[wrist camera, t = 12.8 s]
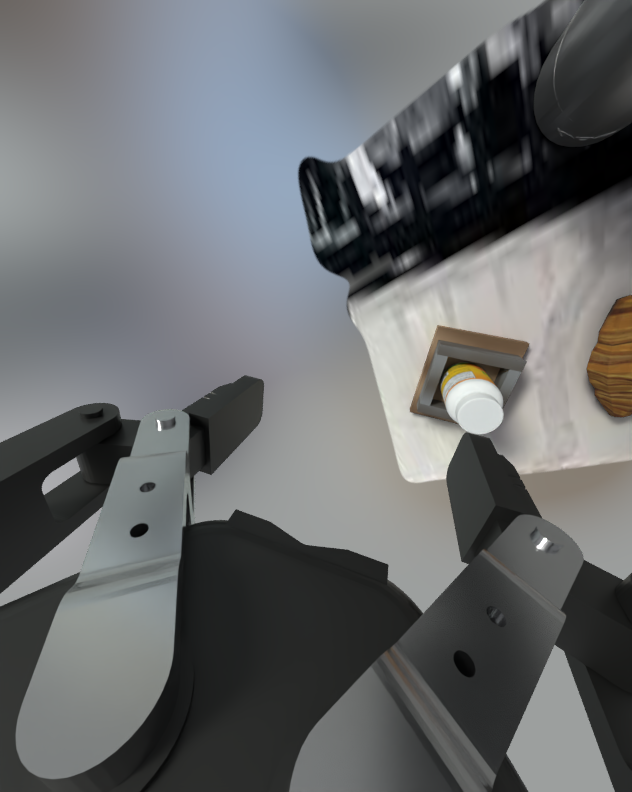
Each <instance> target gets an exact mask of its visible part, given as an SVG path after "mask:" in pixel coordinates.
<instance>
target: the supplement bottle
mask: <svg viewBox="0 0 632 792" xmlns="http://www.w3.org/2000/svg"><path fill="white" fill-rule="evenodd" d="M440 390H441V393H442V396H443V400H444V403H445V407H446V409H447V412H448V414H449V415H450V417H451V418H452V419H453V420H454V421H456V422H457V423H459V425H460V426H461V427H462V428H463V429H464V430H465V431H467V432H469V433H473V434H486V433H489V432H492V431H493V430H495V429H496V428H498V427H499V425H500V424H501V423H502V421H503V417H504V413H503V409H502V407H503V397H502V394H501V392H500V390H499V389H498V388H497V386H496V385H495V384H494V382H493V381H492V380H491V378H490V377H489V376H488V375H487V373H486V372H485V371H484V370H483V369H482V368H481V367H480V366H479V365H477V364H475V363H471V362H459V363H456V364H453V365H451V366H450V367H448V368H447V369H446V370H445V371H444V372H443V374H442V376H441V378H440Z"/></svg>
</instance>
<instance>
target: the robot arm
mask: <svg viewBox="0 0 632 792" xmlns="http://www.w3.org/2000/svg"><path fill="white" fill-rule="evenodd" d="M534 113H535V118H536V122H537V124H538V126H539V128H540V130H541V132H542V133H543V134H544V135H545V136H546V137H547V138H548V139H549V140H550V141H552V142H554V143H556V144H558V145H561V146H567V147H582V146H586V145H590V144H594V143H597V142H599V141H602V140H604V139H606V138H608V137H610V136H612V135H614V134H615V133H617V132H618V131H620V130H621V129H623V128H625V127H626V126H628V125H629V124H631V123H632V0H585V1H584V2H583V3H582V5H581V6H580V8H579V9H578V11H577V12H576V14H575V15H574V17H573V18H572V20H571V21H570V23H569V24H568V26H567V27H566V29H565V30H564V32H563V33H562V35H561V36H560V38H559V39H558V41H557V42H556V44H555V45H554V47H553V48H552V50H551V52H550V53H549V55H548V57H547V59H546V61H545V63H544V65H543V67H542V69H541V72H540V75H539V78H538V80H537V84H536V90H535V95H534ZM263 391H264V383H263V380H261V379H257V378H253V377H249V376H243V377H241V378H240V379H238V380H237V381H235V382H234V383H230V384H227V385H223V386H220V387H218V388H216V389H215V390H213V391H212V392H211V393H209V394H207V395H205V396H204V398H201V399H199V400H198V401H196V402H195V403H193V404H191V405H190V406H188V407H187V408H185V409H184V410H182V411H180V410H174V409H167V410H159V411H155V412H153V413H150V414H148V415H147V416H145V417H144V418H143V419H142V420H141V421H139V420H126V419H121V417H120V412H119V409H118V407H117V406H115V405H112V404H108V403H94V404H88V405H83V406H80V407H77V408H75V409H72V410H71V411H68V412H66V413H64V414H62V415H59V416H57V417H55V418H53V419H51V420H49V421H46V422H44V423H42V424H40V425H38V426H35V427H33V428H31V429H29V430H27V431H25V432H22V433H20V434H18V435H16V436H14V437H12V438H9V439H8V440H5V441H3V442H1V443H0V593H1V592H3V591H4V590H5V589H6V588H7V587H9V586H10V585H11V584H12V583H13V582H15V581H16V580H17V579H18V578H19V577H20V576H22V575H23V574H24V573H25V572H26V571H27V570H29V569H30V568H31V567H32V566H33V565H34V564H36V563H37V562H38V561H39V560H40V559H42V558H43V557H44V556H45V555H46V554H47V553H49V552H50V551H51V550H52V549H53V548H54V547H56V546H57V545H58V544H59V543H60V542H61V541H63V540H64V539H65V538H66V537H67V536H68V535H70V534H71V533H72V532H73V531H74V530H75V529H77V528H78V527H79V526H80V525H81V524H82V523H84V522H85V521H86V520H87V519H88V518H89V517H91V516H92V515H93V514H94V513H95V512H97V511H98V510H99V509H100V508H101V507H103V508H102V510H101V513H100V517H99V519H98V522H97V525H96V528H95V531H94V534H93V537H92V540H91V542H90V545H89V548H88V551H87V554H86V557H85V560H84V563H83V566H82V569H81V571H80V572H79V573H77V574H74V575H72V576H70V577H68V578H65V579H63V580H61V581H58V582H56V583H54V584H52V585H49V586H47V587H44V588H42V589H40V590H38V591H35V592H33V593H31V594H28V595H26V596H24V597H21V598H19V599H17V600H15V601H12V602H10V603H7V604H5V605H3V606H0V792H528V790H527V789H526V787H525V785H524V783H523V782H522V780H521V778H520V776H519V775H518V773H517V771H516V770H515V768H514V766H513V764H512V763H511V761H510V759H509V758H508V756H507V754H506V752H507V750H508V748H509V746H510V743H511V741H512V739H513V737H514V734H515V732H516V730H517V728H518V725H519V723H520V721H521V719H522V716H523V714H524V712H525V710H526V707H527V705H528V703H529V701H530V698H531V696H532V694H533V692H534V689H535V687H536V685H537V683H538V680H539V678H540V676H541V674H542V671H543V669H544V667H545V665H546V662H547V660H548V658H549V656H550V654H551V651H552V649H553V647H554V645H556V646H557V647H559V648H560V649H562V650H563V651H564V652H565V655H566V658H567V660H568V663H569V666H570V668H571V671H572V674H573V677H574V680H575V683H576V685H577V688H578V691H579V694H580V696H581V699H582V702H583V705H584V707H585V710H586V713H587V715H588V718H589V721H590V724H591V727H592V729H593V732H594V735H595V738H596V741H597V743H598V746H599V749H600V751H601V754H602V757H603V759H604V762H605V765H606V768H607V771H608V774H609V776H610V779H611V782H612V785H613V787H614V790H615V792H632V573H631V574H630V575H629V576H628V577H627V578H626V579H625V580H622V579H620V578H618V577H616V576H614V575H612V574H610V573H608V572H606V571H604V570H602V569H600V568H598V567H596V566H595V565H592V564H590V563H589V562H587V561H585V560H584V558H583V554H582V551H581V550H580V548H579V547H578V545H577V544H576V543H575V542H574V541H573V539H572V538H571V537H570V536H569V535H567V534H566V533H565V532H564V531H562V530H561V529H560V528H558V527H557V526H555V525H554V524H552V523H550V522H548V521H547V520H544V519H542V517H541V515H540V514H539V511H538V510H537V508H536V506H535V504H534V502H533V500H532V499H531V497H530V495H529V493H528V491H527V490H526V489H525V486H524V484H523V482H522V480H520V476H519V474H518V473H517V471H516V469H515V467H514V466H513V465H512V464H511V463H510V462H509V461H508V460H507V459H506V458H505V457H504V456H502V455H499V454H497V452H496V450H495V448H494V446H493V444H492V441H491V440H490V438H487V437H483V436H479V435H475V434H472V433H468V432H466V433H465V434H464V435H463V436H462V438H461V440H460V442H459V445H458V447H457V449H456V451H455V453H454V456H453V458H452V460H451V462H450V464H449V467H448V471H447V478H446V480H447V487H448V492H449V497H450V503H451V508H452V513H453V519H454V523H455V529H456V535H457V540H458V545H459V551H460V556H461V561H462V562H464V563H467V564H469V565H468V566H467V567H466V568H465V569H464V570H463V571H462V572H461V573H460V575H459V576H458V577H457V578H456V579H455V580H454V581H453V582H452V583H451V584H450V585H449V586H448V588H447V589H446V590H445V591H444V592H443V593H442V594H441V595H440V596H439V597H438V598H437V599H436V600H435V602H434V603H433V604H432V605H431V606H430V607H429V608H428V609H427V610H426V611H425V612H424V613H422V611H421V610H420V609H419V608H418V607H417V606H416V604H415V603H414V602H413V601H412V600H411V599H410V598H409V597H408V596H407V595H406V594H405V593H404V592H403V591H402V590H401V589H399V588H398V587H397V586H396V585H395V584H393V583H392V582H390V581H389V580H387V578H388V564H385V563H382V562H379V561H377V560H374V559H371V558H368V557H366V556H363V555H360V554H358V553H354V552H352V551H349V550H344V549H336V548H326V547H317V546H309V545H305V544H302V543H300V542H299V541H298V540H296V539H295V538H293V537H292V536H290V535H289V534H287V533H286V532H284V531H283V530H282V529H280V528H279V527H277V526H276V525H274V524H273V523H271V522H269V521H267V520H264V519H261V518H258V517H255V516H253V515H250V514H247V513H244V512H242V511H239V510H235V511H234V513H233V514H232V516H231V517H230V519H229V520H228V521H227V520H214V521H205V522H200V523H196V524H195V477H194V475H195V474H196V473H197V472H198V471H202V472H204V473H207V474H210V475H212V474H213V473H214V471H215V470H216V469H217V468H218V467H219V466H220V465H221V464H222V463H223V462H224V461H225V460H226V459H227V458H228V457H229V455H230V454H231V453H232V452H233V451H234V450H235V449H236V448H237V447H238V446H239V445H240V444H241V443H242V442H243V441H244V440H245V439H246V437H247V436H248V435H249V434H250V433H251V432H252V431H253V430H254V429H255V428H256V427H257V426H258V424H259V422H260V420H261V417H262V411H263V393H264V392H263ZM75 457H76V458H77V461H78V464H79V467H80V470H81V471H79V472H78V473H77V474H75V475H74V476H72V477H70V478H69V479H68V480H66V481H65V482H63V483H62V484H60V485H59V486H57V487H56V488H54V489H53V490H51V491H50V492H48V493H47V494H45V495H43V493H42V484H43V481H44V480H45V478H46V477H47V476H48V475H49V474H50V473H51V472H52V471H54V470H56V469H57V468H59V467H61V466H62V465H64V464H66V463H67V462H69V461H70V460H72V459H74V458H75Z"/></svg>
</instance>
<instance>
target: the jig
mask: <svg viewBox="0 0 632 792" xmlns="http://www.w3.org/2000/svg"><path fill="white" fill-rule="evenodd" d="M528 346H529V343H527V342H524V341H519V340H514V339H508V338H503V337H498V336H492V335H487V334H482V333H476V332H471V331H466V330H461V329H455V328H450V327H445V326H439V325H438V326H437V329H436V332H435V335H434V338H433V341H432V344H431V347H430V350H429V353H428V356H427V359H426V362H425V365H424V368H423V371H422V374H421V377H420V380H419V383H418V386H417V389H416V392H415V395H414V398H413V401H412V404H411V407H410V412H413V413H417V414H421V415H425V416H429V417H433V418H437V419H441V420H444V421H448V422H452V423H456V424H459V423H457V422H456V421H454V420H453V419H452V418H451V417H450V415H449V414H448V412H447V409H446V407H445V403H444V400H443V396H442V393H441V390H440V378H441V376H442V374H443V372H444V371H445V370H446V369H447V368H448V367H450V366H451V365H453V364H456V363H459V362H471V363H475V364H477V365H479V366H480V367H481V368H482V369H483V370H484V371H485V372H486V373H487V375H488V376H489V377H490V378H491V380H492V381H493V382H494V384H495V385H496V386H497V388H498V389H499V390H500V392H501V394H502V397H503V407H502V409H503V408H504V406H505V404H506V402H507V400H508V398H509V396H510V394H511V392H512V390H513V388H514V386H515V384H516V382H517V380H518V378H519V376H520V374H521V372H522V370H523V368H524V366H525V364H526V361H525V360H524V359H523V356H524V354H525V352H526V350H527V348H528Z"/></svg>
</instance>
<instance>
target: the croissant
mask: <svg viewBox="0 0 632 792" xmlns="http://www.w3.org/2000/svg"><path fill="white" fill-rule="evenodd" d="M587 373H588V377H589V381H590V383H591V384H592V386H593V387H594V388H595V396H596V398H597V399H598V400H599V402H600V403H601V405H602V406H603V407H604V409H605V410H606V411H607V412H608V414H609V415H611V416H614V417H626V416H630V415H631V414H632V295H629V296H626V297H623V298H620V299H617V300H616V302H615V303H614V305H613V307H612V308H611V310H610V312H609V313H608V315H607V317H606V319H605V321H604V323H603V325H602V327H601V329H600V331H599V337H598V342H597V344H596V346H595V347H594V349H593V351H592V352H591V356H590V359H589V363H588V366H587Z"/></svg>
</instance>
